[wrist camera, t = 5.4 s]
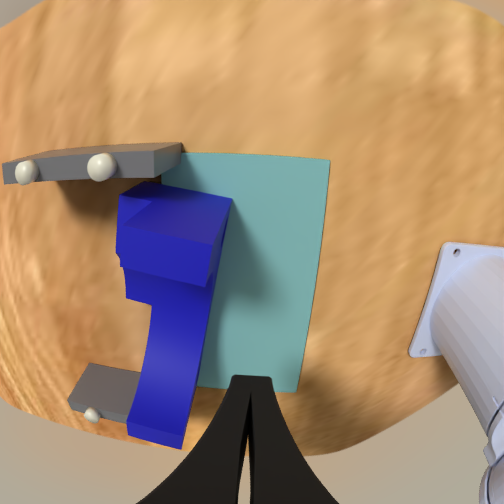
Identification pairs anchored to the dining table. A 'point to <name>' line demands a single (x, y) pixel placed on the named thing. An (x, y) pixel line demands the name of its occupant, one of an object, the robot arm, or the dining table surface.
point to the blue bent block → (170, 296)
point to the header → (98, 168)
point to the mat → (260, 261)
